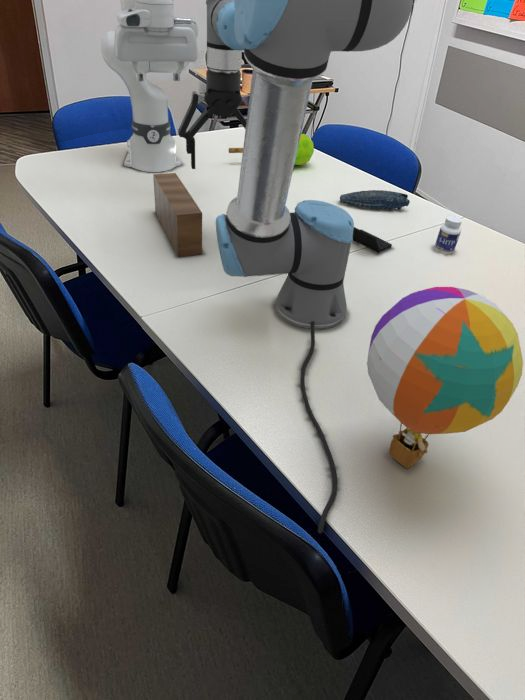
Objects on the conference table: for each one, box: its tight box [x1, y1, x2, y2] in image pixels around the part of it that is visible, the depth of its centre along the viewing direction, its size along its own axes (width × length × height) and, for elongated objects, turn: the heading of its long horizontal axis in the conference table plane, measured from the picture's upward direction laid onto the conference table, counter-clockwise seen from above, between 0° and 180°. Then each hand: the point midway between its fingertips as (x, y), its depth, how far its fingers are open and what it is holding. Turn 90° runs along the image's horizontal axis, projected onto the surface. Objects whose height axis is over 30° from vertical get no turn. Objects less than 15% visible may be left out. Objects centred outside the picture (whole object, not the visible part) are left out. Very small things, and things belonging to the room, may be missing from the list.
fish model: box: [339, 189, 411, 211], centre depth 158 cm, size 7×21×5 cm, turn 84°
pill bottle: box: [434, 215, 463, 255], centre depth 137 cm, size 5×5×9 cm
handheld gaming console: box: [352, 226, 393, 254], centre depth 138 cm, size 12×7×10 cm
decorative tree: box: [228, 133, 315, 166], centre depth 179 cm, size 18×10×30 cm
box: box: [152, 172, 203, 258], centre depth 134 cm, size 26×6×11 cm, turn 21°
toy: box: [366, 286, 524, 469], centre depth 73 cm, size 20×20×30 cm
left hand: (158, 80), depth 132 cm, fingers open, 8 cm apart
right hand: (221, 167), depth 126 cm, fingers open, 13 cm apart
